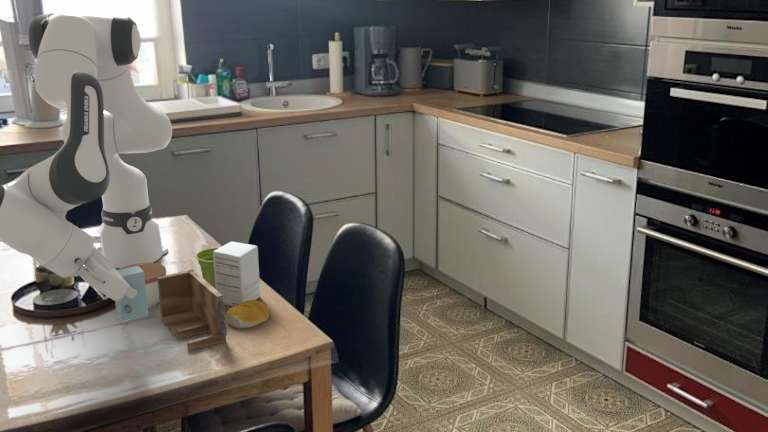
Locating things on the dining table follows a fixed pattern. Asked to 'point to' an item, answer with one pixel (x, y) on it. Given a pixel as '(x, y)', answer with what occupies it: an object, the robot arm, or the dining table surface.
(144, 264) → the lidded jar
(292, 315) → the dining table surface
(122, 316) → the pale teal box
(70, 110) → the robot arm
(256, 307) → the bread roll
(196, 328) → the carcass
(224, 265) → the supplement box
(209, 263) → the plant pot
